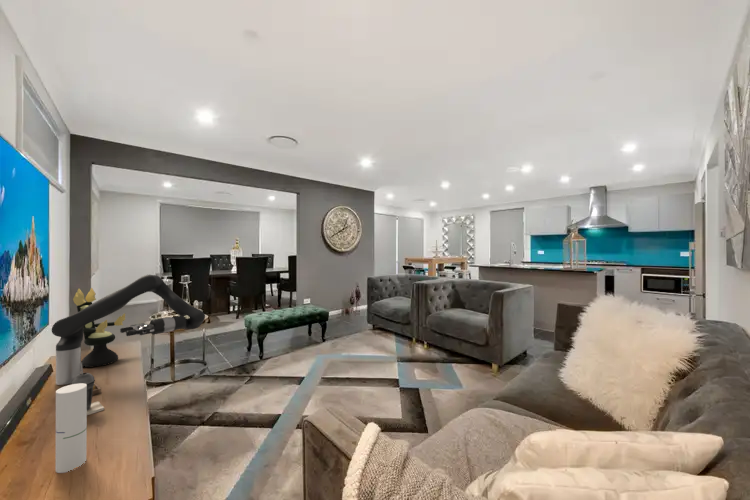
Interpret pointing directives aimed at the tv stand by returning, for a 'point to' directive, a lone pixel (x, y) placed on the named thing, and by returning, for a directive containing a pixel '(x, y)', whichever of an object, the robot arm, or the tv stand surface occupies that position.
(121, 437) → the tv stand surface
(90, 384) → the beverage cup
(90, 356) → the black yellow plant sculpture
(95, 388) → the marble tray
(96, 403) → the ash board
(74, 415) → the cylindrical container
